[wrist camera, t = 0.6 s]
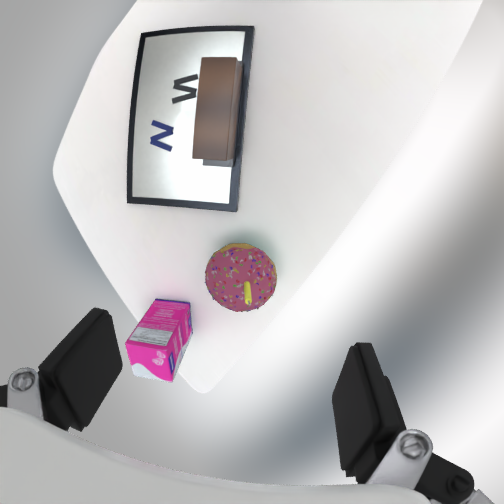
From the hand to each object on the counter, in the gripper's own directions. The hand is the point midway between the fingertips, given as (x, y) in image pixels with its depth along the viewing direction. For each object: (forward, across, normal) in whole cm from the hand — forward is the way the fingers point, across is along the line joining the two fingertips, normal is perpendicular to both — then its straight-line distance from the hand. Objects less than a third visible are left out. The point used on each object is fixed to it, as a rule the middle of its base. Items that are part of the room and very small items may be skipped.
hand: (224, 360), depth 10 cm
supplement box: (+27, +12, +18) cm, 34 cm away
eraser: (+26, +5, -11) cm, 29 cm away
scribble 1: (+26, +13, -8) cm, 30 cm away
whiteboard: (+27, +10, -11) cm, 31 cm away
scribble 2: (+26, +10, -14) cm, 31 cm away
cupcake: (+27, +2, +8) cm, 28 cm away
